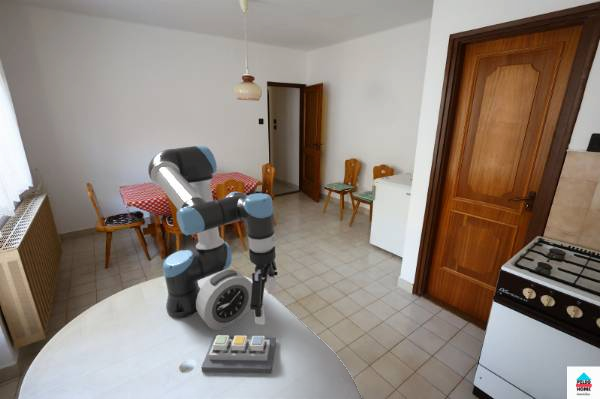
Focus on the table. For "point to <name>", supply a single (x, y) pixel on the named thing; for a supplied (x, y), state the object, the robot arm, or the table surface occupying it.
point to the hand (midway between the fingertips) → (266, 307)
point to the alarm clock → (224, 298)
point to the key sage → (221, 342)
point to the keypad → (240, 358)
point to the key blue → (257, 343)
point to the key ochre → (239, 342)
